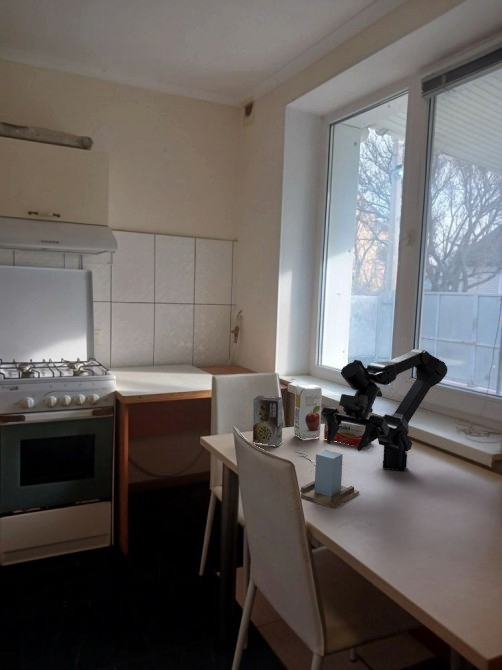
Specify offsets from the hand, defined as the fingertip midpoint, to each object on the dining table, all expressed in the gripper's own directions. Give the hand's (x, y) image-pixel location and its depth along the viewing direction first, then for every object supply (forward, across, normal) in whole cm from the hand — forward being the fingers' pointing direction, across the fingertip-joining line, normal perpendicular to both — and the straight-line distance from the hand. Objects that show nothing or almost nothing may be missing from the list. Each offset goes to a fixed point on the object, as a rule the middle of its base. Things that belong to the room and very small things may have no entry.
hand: (342, 446), depth 136 cm
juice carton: (-15, -33, +32) cm, 48 cm away
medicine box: (-20, -20, +36) cm, 46 cm away
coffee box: (-4, -39, +20) cm, 44 cm away
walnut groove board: (+13, 0, +3) cm, 13 cm away
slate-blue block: (+12, 0, +2) cm, 12 cm away
